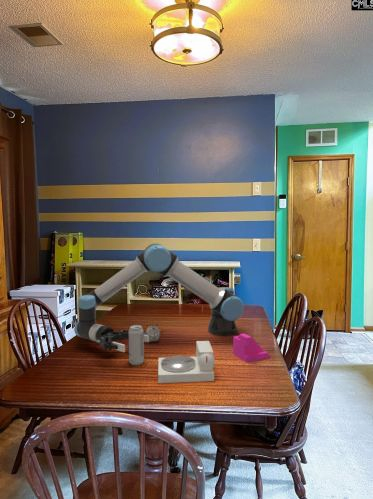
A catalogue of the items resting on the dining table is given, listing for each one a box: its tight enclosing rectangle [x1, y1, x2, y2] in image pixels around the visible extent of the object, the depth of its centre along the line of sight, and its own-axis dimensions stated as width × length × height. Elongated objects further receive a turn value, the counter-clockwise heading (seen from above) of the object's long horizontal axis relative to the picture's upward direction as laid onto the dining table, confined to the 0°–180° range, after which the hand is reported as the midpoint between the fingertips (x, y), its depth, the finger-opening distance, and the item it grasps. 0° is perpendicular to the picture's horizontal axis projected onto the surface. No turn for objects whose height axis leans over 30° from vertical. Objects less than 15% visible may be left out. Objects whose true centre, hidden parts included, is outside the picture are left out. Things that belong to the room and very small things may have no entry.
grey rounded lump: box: [144, 324, 163, 344], centre depth 168 cm, size 9×8×10 cm
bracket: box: [232, 333, 271, 363], centre depth 149 cm, size 12×10×10 cm
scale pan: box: [161, 355, 195, 372], centre depth 133 cm, size 13×13×1 cm
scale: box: [157, 340, 216, 384], centre depth 133 cm, size 20×16×10 cm
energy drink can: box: [128, 324, 145, 366], centre depth 142 cm, size 6×6×15 cm
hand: (136, 343), depth 142 cm, fingers open, 13 cm apart
